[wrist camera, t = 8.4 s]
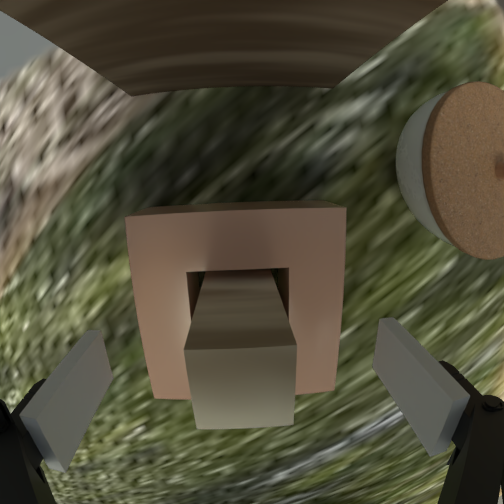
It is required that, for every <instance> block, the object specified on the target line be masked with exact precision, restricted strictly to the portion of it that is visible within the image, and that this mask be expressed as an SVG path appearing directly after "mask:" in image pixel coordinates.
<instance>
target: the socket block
mask: <svg viewBox="0 0 504 504" xmlns="http://www.w3.org/2000/svg"><path fill="white" fill-rule="evenodd" d="M125 225H126V236H127V245H128V254H129V262H130V270H131V278H132V285H133V291H134V298H135V304H136V311H137V317H138V322H139V328H140V333H141V339H142V344H143V349H144V354H145V359H146V363H147V368H148V373H149V377H150V381H151V386H152V390H153V394H154V398H155V399H191V394H190V388H189V382H188V376H187V370H186V363H185V356H184V346H185V343H186V339H187V335H188V332H189V328H190V325H191V321H192V318H193V314H194V311H195V307H196V304H197V300H198V297H199V293H200V287H199V275H198V271H220V270H244V269H267V268H278V292H279V295H280V298H281V300H282V303H283V306H284V309H285V312H286V315H287V317H288V320H289V323H290V326H291V329H292V332H293V334H294V337H295V340H296V343H297V364H296V387H295V395H300V394H310V393H318V392H327V391H334V388H335V380H336V371H337V363H338V353H339V343H340V332H341V320H342V307H343V292H344V274H345V251H346V207H343V206H340V205H337V204H334V203H331V202H328V201H324V200H294V201H257V202H231V203H209V204H190V205H174V206H159V207H148V208H145V209H143V210H140V211H138V212H135V213H133V214H130V215H128V216H125Z"/></svg>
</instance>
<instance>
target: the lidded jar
mask: <svg viewBox="0 0 504 504" xmlns="http://www.w3.org/2000/svg"><path fill="white" fill-rule="evenodd" d="M396 174H397V180H398V184H399V188H400V191H401V194H402V196H403V199H404V201H405V202H406V204H407V206H408V208H409V209H410V211H411V212H412V214H413V215H414V217H415V218H416V219H417V220H418V221H419V222H420V223H421V224H422V225H423V226H424V227H425V228H426V229H427V230H428V231H429V232H431V233H432V234H434V235H435V236H436V237H438V238H439V239H441V240H442V241H444V242H446V243H448V244H450V245H453V246H455V247H457V248H458V249H459V250H461V251H462V252H465V253H467V254H469V255H471V256H473V257H476V258H480V259H485V260H488V259H496V258H500V257H503V256H504V91H503V90H501V89H500V88H498V87H496V86H494V85H492V84H489V83H485V82H478V81H477V82H468V83H465V84H462V85H459V86H457V87H454V88H452V89H451V90H449V91H447V92H444V93H442V94H439V95H437V96H435V97H433V98H432V99H430V100H429V101H427V102H426V103H424V104H423V105H422V106H420V107H419V108H418V109H417V110H416V111H415V112H414V113H413V114H412V115H411V117H410V118H409V120H408V121H407V123H406V124H405V126H404V128H403V130H402V133H401V135H400V137H399V141H398V145H397V151H396Z"/></svg>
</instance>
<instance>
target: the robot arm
mask: <svg viewBox="0 0 504 504" xmlns="http://www.w3.org/2000/svg"><path fill="white" fill-rule="evenodd" d="M372 367H373V369H374V370H375V372H376V373H377V375H378V376H379V378H380V379H381V381H382V382H383V384H384V386H385V387H386V389H387V390H388V392H389V393H390V395H391V396H392V398H393V399H394V401H395V402H396V404H397V405H398V407H399V409H400V410H401V412H402V413H403V415H404V416H405V418H406V419H407V421H408V423H409V424H410V426H411V427H412V429H413V430H414V432H415V434H416V435H417V437H418V438H419V440H420V442H421V443H422V445H423V446H424V448H425V450H426V451H427V453H428V454H429V456H433V455H436V454H439V453H442V452H444V451H446V450H447V448H448V446H449V444H450V442H451V440H452V441H453V442H454V444H455V445H456V447H455V449H454V451H453V453H452V455H451V457H450V459H449V461H448V463H447V464H446V465H449V464H450V465H449V469H448V472H447V476H446V479H445V482H444V485H443V488H442V491H441V494H440V497H439V500H438V503H437V504H497V503H498V498H499V492H500V485H501V489H502V499H503V504H504V402H503V401H502V400H501V399H500V398H498V397H496V396H493V395H484V396H482V395H481V394H480V393H479V391H478V390H477V389H476V388H475V387H474V386H473V385H472V384H471V383H470V382H469V381H468V380H467V379H465V377H464V376H463V375H462V374H461V373H460V374H459V371H458V370H457V369H456V368H455V367H454V366H453V365H451V364H449V363H447V362H445V361H439V362H438V361H437V360H436V359H435V358H434V357H433V356H432V355H431V354H430V353H429V352H428V351H427V350H426V349H425V348H424V347H423V346H422V345H421V344H420V343H419V342H418V341H417V340H416V339H415V338H414V337H413V336H412V335H411V334H410V333H409V332H408V331H407V330H406V329H405V328H404V327H403V326H402V325H401V324H400V323H399V322H398V321H397V320H396V319H395V318H394V317H390V318H382V319H379V325H378V333H377V340H376V347H375V353H374V359H373V365H372ZM112 380H113V375H112V371H111V368H110V364H109V360H108V356H107V352H106V348H105V344H104V340H103V336H102V332H101V331H96V330H87V331H86V333H85V334H84V335H83V336H82V337H81V338H80V340H79V341H78V342H77V343H76V344H75V346H74V347H73V348H72V349H71V350H70V352H69V353H68V354H67V355H66V356H65V358H64V359H63V360H62V361H61V362H60V364H59V365H58V366H57V367H56V369H55V370H54V371H53V372H52V374H51V375H50V376H49V377H48V378H47V379H42V380H40V381H39V382H37V383H36V384H34V385H33V387H32V388H31V389H30V390H29V393H27V394H26V395H25V397H24V399H22V400H21V402H20V403H19V404H18V405H17V407H16V408H15V409H14V410H13V412H12V413H11V414H10V412H9V410H8V408H7V406H6V404H5V402H4V401H3V400H1V399H0V504H56V502H55V499H54V497H53V495H52V492H51V490H50V487H49V485H48V482H47V480H46V477H45V474H44V471H43V469H42V468H41V466H40V463H41V461H42V460H43V459H44V461H45V462H46V464H47V465H48V467H49V468H50V469H54V470H57V471H61V472H65V473H66V471H67V469H68V467H69V465H70V463H71V461H72V459H73V456H74V454H75V452H76V450H77V448H78V446H79V444H80V442H81V440H82V438H83V436H84V434H85V432H86V430H87V428H88V426H89V424H90V422H91V420H92V418H93V416H94V414H95V412H96V410H97V408H98V406H99V405H100V403H101V401H102V399H103V397H104V395H105V393H106V391H107V389H108V387H109V386H110V384H111V382H112Z"/></svg>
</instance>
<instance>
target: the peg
mask: <svg viewBox="0 0 504 504" xmlns="http://www.w3.org/2000/svg"><path fill="white" fill-rule="evenodd" d="M184 356H185V363H186V370H187V376H188V382H189V388H190V394H191V400H192V406H193V411H194V416H195V422H196V427H197V429H241V428H261V427H275V426H287V425H293V424H294V407H295V387H296V364H297V343H296V340H295V337H294V334H293V332H292V329H291V326H290V323H289V320H288V317H287V315H286V312H285V309H284V306H283V303H282V300H281V298H280V295H279V292H278V289H277V286H276V284H275V281H274V278H273V275H272V272H271V270H270V268H267V269H244V270H220V271H206V273H205V276H204V280H203V283H202V286H201V290H200V293H199V297H198V300H197V304H196V307H195V311H194V314H193V318H192V321H191V325H190V328H189V332H188V335H187V339H186V343H185V346H184Z"/></svg>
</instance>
